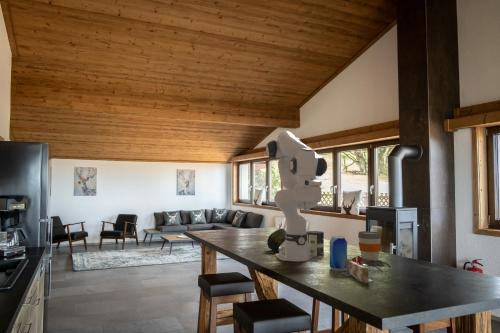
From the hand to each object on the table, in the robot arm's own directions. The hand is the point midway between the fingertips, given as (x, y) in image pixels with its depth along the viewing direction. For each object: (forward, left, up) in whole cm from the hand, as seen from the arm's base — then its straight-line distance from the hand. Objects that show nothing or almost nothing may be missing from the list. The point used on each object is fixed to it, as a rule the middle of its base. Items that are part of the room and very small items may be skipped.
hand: (306, 211), depth 180 cm
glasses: (-2, +38, -30) cm, 49 cm away
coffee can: (-37, +27, -29) cm, 54 cm away
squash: (-59, +14, -29) cm, 67 cm away
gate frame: (+14, +17, -29) cm, 37 cm away
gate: (+16, +16, -29) cm, 36 cm away
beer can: (-2, +19, -29) cm, 35 cm away
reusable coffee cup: (-18, +51, -29) cm, 62 cm away
